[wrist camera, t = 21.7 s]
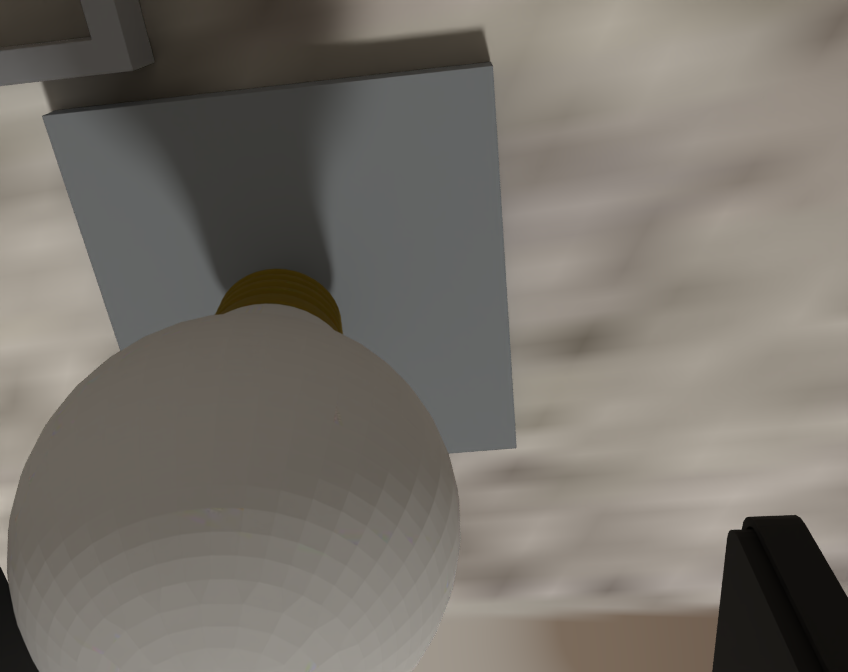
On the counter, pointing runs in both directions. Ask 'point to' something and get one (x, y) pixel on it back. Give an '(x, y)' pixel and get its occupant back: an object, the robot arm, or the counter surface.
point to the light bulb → (237, 502)
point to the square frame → (84, 47)
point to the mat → (314, 219)
